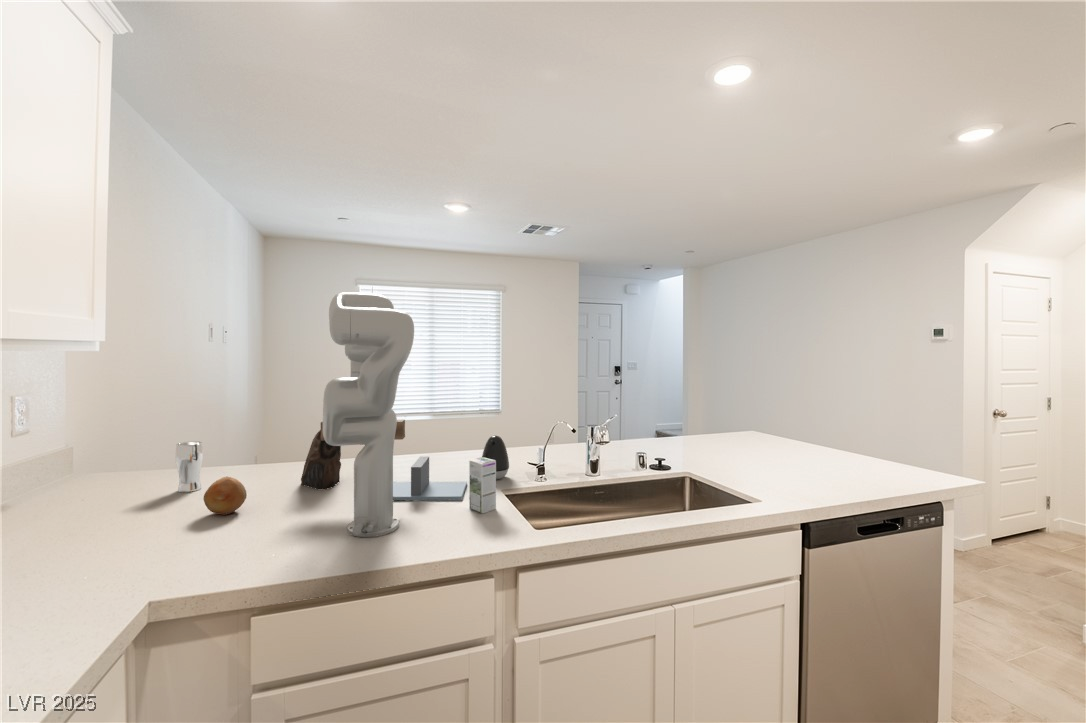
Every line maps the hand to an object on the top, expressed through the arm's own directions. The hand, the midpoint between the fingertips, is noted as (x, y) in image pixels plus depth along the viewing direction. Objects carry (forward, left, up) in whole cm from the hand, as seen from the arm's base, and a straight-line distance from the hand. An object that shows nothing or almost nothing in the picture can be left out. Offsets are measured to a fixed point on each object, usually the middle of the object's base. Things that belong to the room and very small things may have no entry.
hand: (363, 436), depth 148 cm
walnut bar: (0, 0, -1) cm, 1 cm away
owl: (+15, +19, -19) cm, 31 cm away
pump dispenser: (+22, -39, -19) cm, 49 cm away
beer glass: (+9, +58, -19) cm, 62 cm away
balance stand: (+5, -16, -19) cm, 26 cm away
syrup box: (-11, -37, -19) cm, 43 cm away
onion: (-13, +34, -19) cm, 41 cm away
